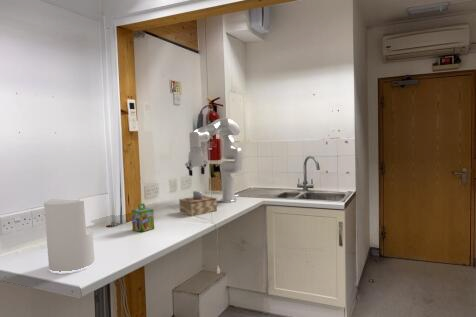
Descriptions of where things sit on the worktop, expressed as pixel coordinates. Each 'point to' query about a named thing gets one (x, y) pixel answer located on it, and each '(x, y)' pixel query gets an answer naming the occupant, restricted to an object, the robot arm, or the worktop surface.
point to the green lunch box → (142, 219)
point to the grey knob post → (197, 195)
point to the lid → (193, 201)
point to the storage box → (198, 207)
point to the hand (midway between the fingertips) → (196, 174)
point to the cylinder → (67, 235)
